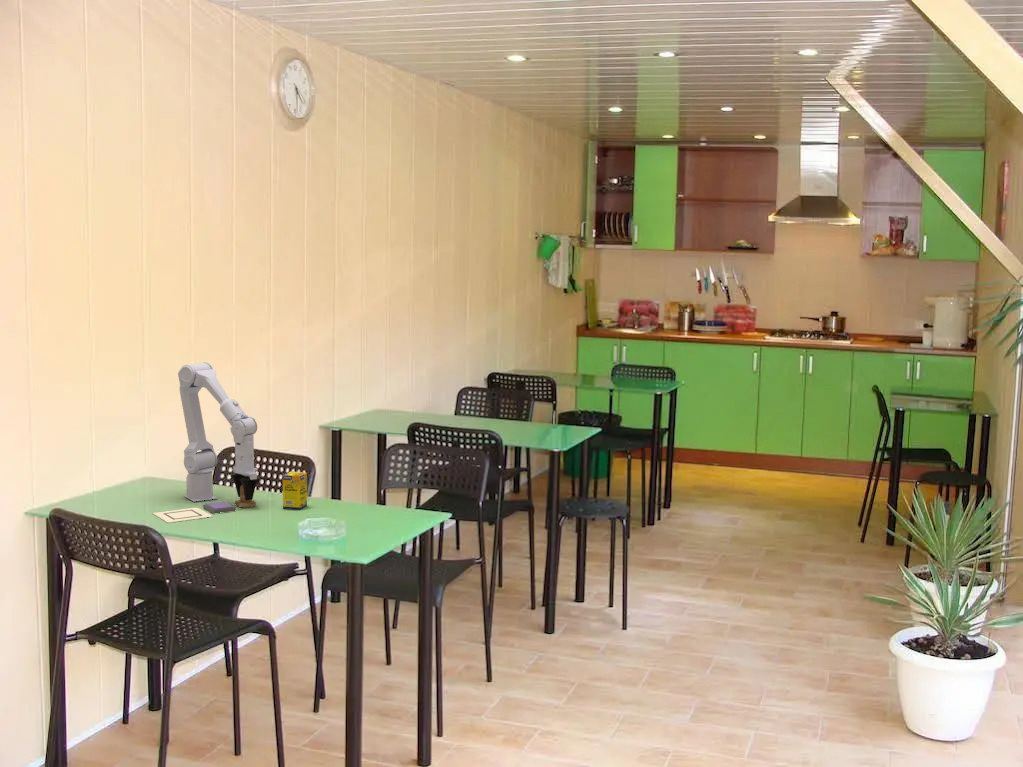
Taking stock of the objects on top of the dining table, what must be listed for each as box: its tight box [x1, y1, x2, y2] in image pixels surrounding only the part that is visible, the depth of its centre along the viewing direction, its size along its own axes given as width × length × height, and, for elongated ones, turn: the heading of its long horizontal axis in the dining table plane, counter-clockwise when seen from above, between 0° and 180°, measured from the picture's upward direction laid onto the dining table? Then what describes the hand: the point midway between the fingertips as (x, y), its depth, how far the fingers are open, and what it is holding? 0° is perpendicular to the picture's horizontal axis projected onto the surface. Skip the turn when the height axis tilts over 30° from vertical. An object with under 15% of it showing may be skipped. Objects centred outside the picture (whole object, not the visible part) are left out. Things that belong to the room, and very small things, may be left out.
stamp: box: [234, 485, 257, 508], centre depth 361 cm, size 5×5×7 cm
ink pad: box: [202, 500, 237, 514], centre depth 355 cm, size 9×7×2 cm
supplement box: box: [282, 471, 308, 511], centre depth 359 cm, size 6×6×11 cm
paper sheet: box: [152, 507, 214, 524], centre depth 348 cm, size 14×14×1 cm
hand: (245, 498), depth 361 cm, fingers open, 5 cm apart
